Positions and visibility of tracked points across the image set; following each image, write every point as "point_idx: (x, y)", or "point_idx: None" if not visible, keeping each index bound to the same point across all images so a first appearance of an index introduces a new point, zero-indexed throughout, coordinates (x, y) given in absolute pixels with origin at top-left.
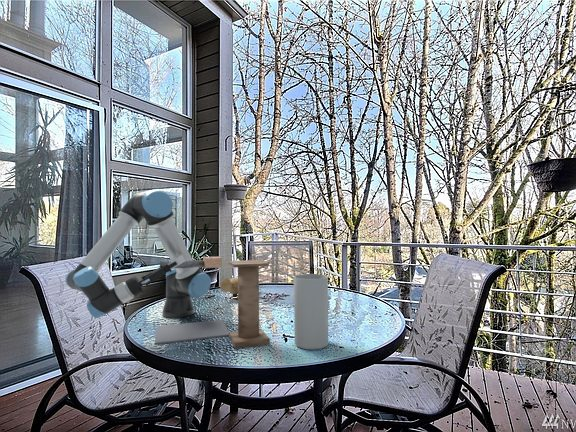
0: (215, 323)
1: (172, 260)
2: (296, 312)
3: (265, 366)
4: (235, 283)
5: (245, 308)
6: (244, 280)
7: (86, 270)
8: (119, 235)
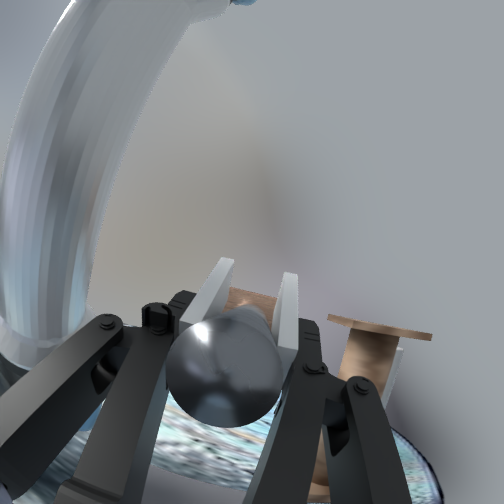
0: (160, 483)
1: (213, 299)
2: None
3: (427, 473)
4: None
5: None
6: (390, 369)
7: None
8: None
